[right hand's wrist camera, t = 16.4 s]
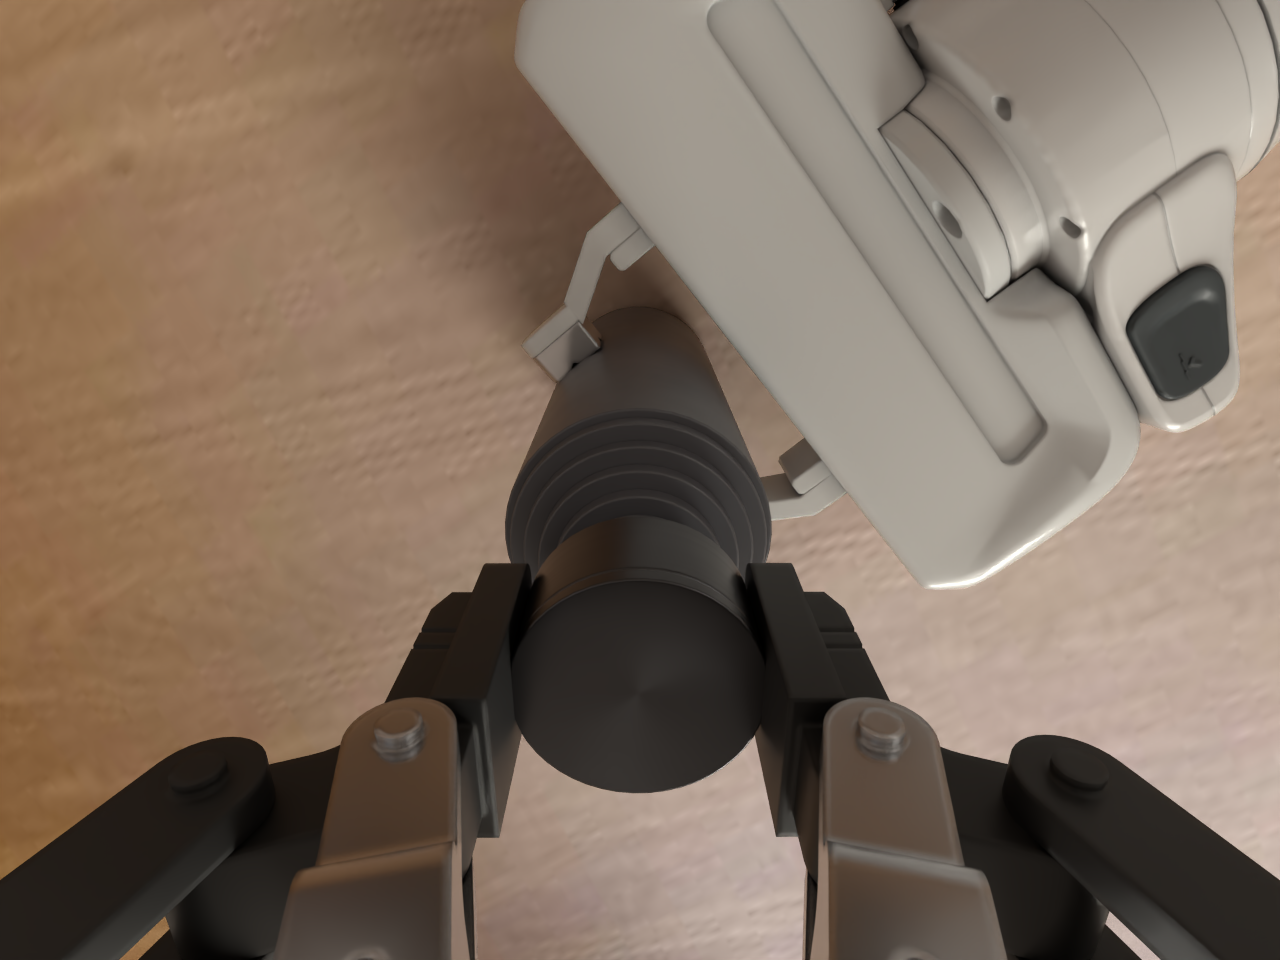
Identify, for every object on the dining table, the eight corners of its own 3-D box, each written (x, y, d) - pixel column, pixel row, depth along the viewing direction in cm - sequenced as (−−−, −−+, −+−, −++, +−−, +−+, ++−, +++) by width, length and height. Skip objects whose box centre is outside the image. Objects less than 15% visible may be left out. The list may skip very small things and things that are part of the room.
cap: (782, 551, 12) (810, 620, 10) (706, 726, 13) (717, 817, 11) (560, 487, 11) (545, 547, 9) (505, 675, 13) (481, 761, 11)
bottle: (731, 417, 28) (871, 749, 11) (602, 469, 29) (552, 854, 12) (677, 282, 26) (749, 440, 9) (540, 342, 27) (380, 589, 10)
